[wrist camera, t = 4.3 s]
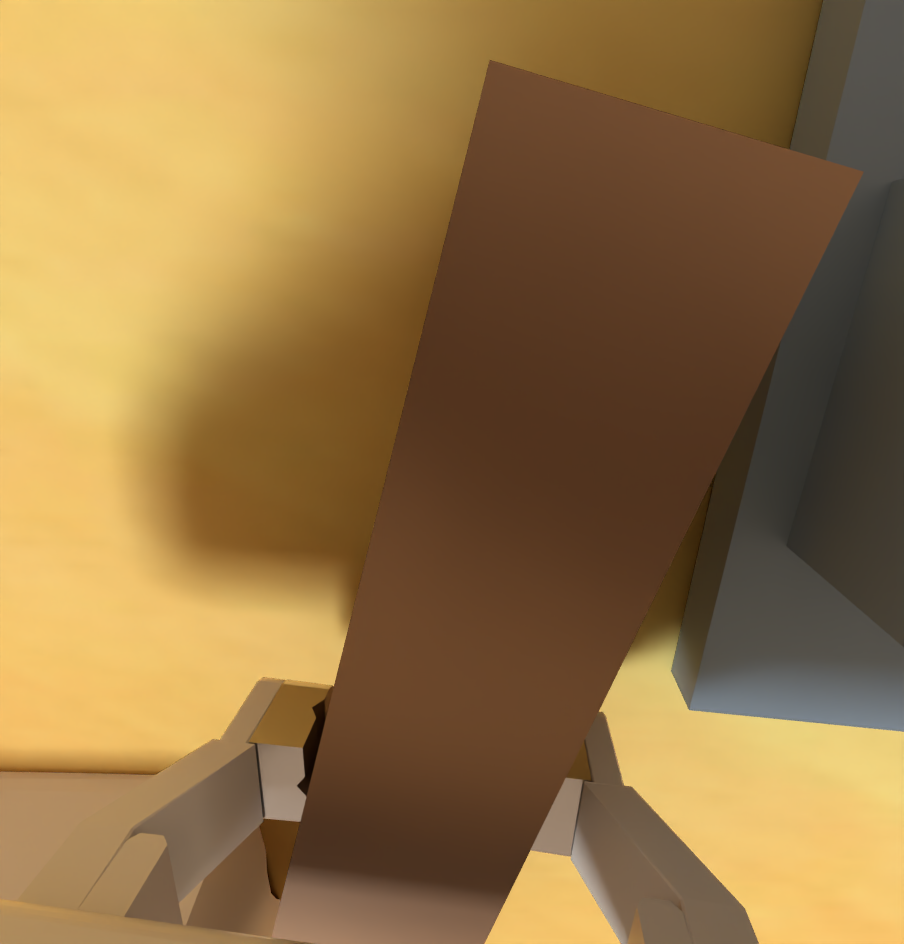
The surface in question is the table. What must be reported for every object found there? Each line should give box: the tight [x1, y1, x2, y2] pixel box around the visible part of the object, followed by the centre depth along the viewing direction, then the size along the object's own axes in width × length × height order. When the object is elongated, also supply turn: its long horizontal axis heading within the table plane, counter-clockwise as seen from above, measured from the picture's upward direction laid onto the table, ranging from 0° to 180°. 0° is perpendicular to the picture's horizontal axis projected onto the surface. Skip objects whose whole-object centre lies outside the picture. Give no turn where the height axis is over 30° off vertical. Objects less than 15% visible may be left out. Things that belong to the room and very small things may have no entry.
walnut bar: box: [272, 60, 864, 944], centre depth 10 cm, size 20×3×5 cm, turn 165°
